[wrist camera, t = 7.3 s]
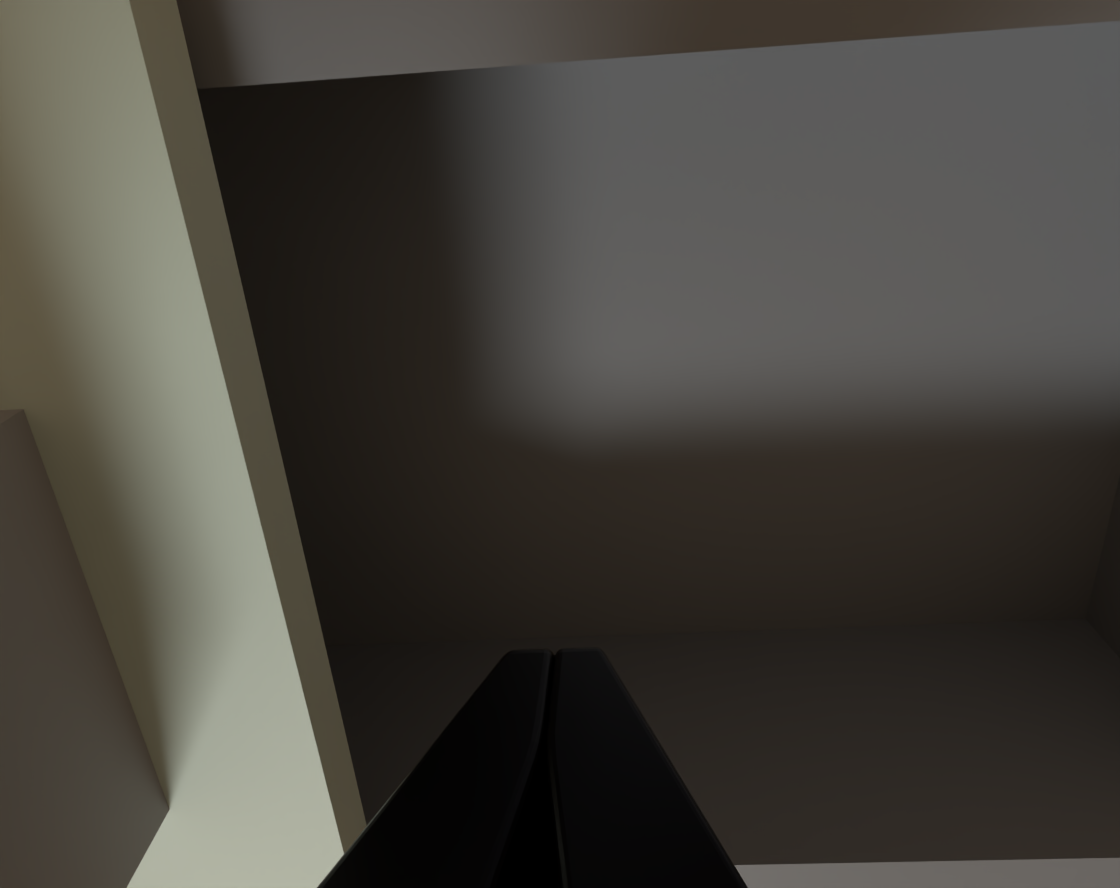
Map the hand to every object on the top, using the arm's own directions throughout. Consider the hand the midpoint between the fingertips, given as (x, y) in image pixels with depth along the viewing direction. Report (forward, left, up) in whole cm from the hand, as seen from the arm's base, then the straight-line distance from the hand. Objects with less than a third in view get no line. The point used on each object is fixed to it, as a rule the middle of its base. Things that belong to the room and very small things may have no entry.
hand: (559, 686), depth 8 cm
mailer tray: (0, 0, -8) cm, 8 cm away
